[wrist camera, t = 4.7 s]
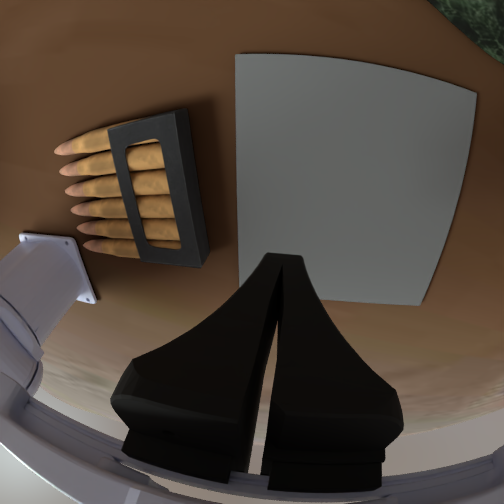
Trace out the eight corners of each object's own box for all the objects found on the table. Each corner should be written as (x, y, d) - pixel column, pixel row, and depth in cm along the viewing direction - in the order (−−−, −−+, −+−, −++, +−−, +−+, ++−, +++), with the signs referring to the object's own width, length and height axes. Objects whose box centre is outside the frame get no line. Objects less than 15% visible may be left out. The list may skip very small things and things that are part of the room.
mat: (240, 288, 23) (239, 291, 23) (236, 54, 14) (235, 54, 14) (418, 302, 21) (419, 305, 21) (473, 92, 12) (476, 93, 12)
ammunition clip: (202, 269, 20) (81, 259, 23) (210, 254, 22) (92, 248, 24) (173, 111, 15) (44, 144, 17) (187, 107, 16) (60, 137, 19)
